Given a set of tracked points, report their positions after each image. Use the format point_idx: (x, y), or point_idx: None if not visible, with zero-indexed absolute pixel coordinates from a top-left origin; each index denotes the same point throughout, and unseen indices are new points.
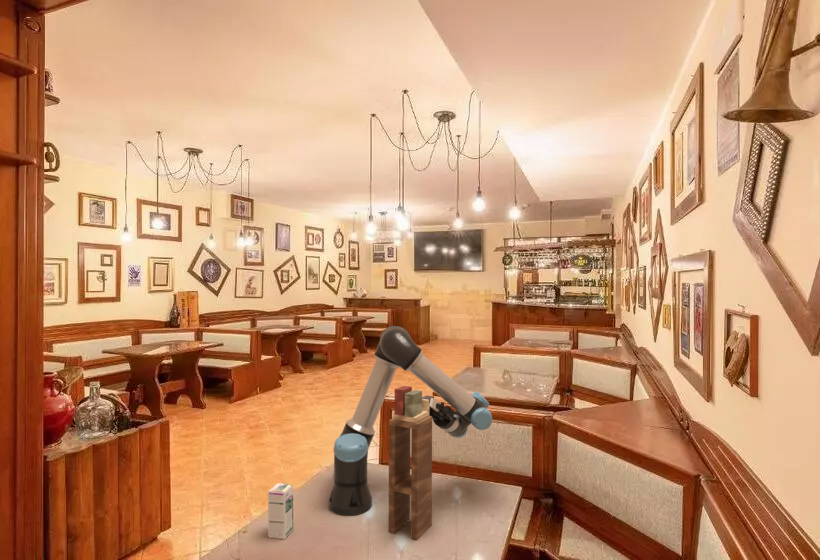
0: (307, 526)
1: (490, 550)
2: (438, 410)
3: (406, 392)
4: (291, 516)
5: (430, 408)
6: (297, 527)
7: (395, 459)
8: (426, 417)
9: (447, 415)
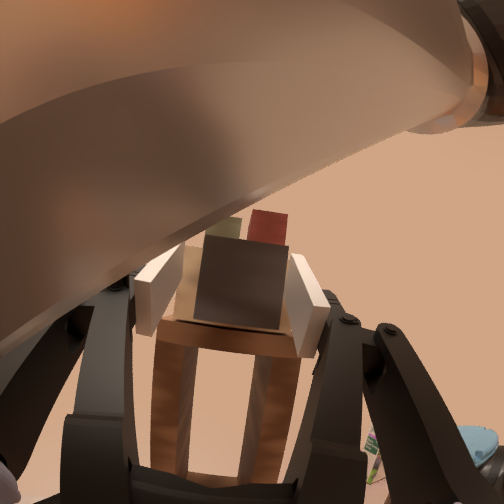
0: (367, 496)
1: (32, 500)
2: (138, 323)
3: (248, 232)
4: (372, 465)
5: (305, 446)
6: (373, 489)
7: (245, 428)
8: (178, 319)
9: (59, 389)
